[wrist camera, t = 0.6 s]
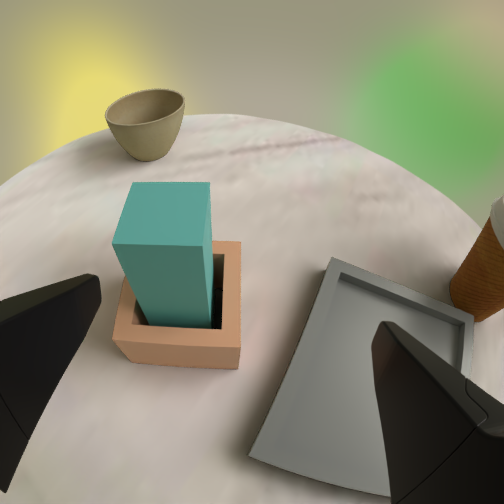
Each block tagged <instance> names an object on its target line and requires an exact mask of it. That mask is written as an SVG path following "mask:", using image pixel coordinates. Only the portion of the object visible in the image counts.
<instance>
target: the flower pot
mask: <svg viewBox="0 0 504 504" xmlns="http://www.w3.org/2000/svg"><path fill="white" fill-rule="evenodd" d="M184 105H185V98H184V96H183V95H182V94H180V93H179V92H177V91H174V90H169V89H148V90H142V91H138V92H135V93H131V94H129V95H126V96H124V97H122V98H120V99H118V100H117V101H115V102H114V103H112V104H111V105H110V106H109V107H108V109H107V110H106V112H105V118H106V121H107V123H108V126H109V128H110V130H111V132H112V133H113V135H114V137H115V138H116V140H117V141H118V142H119V144H120V145H121V146H122V147H123V148H124V149H125V150H126V151H127V152H128V153H129V154H130V155H131V156H133V157H134V158H135V159H137V160H140V161H153V160H157V159H159V158H161V157H163V156H165V155H166V154H167V153H168V151H169V150H170V148H171V146H172V145H173V143H174V141H175V139H176V137H177V135H178V132H179V129H180V126H181V123H182V119H183V114H184V107H185V106H184Z"/></svg>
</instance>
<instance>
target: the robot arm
mask: <svg viewBox="0 0 504 504" xmlns="http://www.w3.org/2000/svg"><path fill="white" fill-rule="evenodd" d="M101 299H102V298H101V289H100V281H99V278H98V276H96V275H92V274H83V275H80V276H77V277H74V278H70V279H67V280H64V281H61V282H57V283H54V284H51V285H48V286H45V287H41V288H38V289H35V290H32V291H29V292H26V293H22V294H19V295H16V296H13V297H10V298H7V299H4V300H2V301H0V490H1V491H2V492H4V493H6V492H7V490H8V488H9V485H10V483H11V480H12V478H13V476H14V473H15V471H16V468H17V466H18V464H19V462H20V459H21V457H22V455H23V453H24V451H25V448H26V446H27V444H28V442H29V439H30V437H31V435H32V433H33V431H34V429H35V427H36V425H37V423H38V421H39V419H40V417H41V415H42V413H43V411H44V409H45V407H46V405H47V404H48V402H49V400H50V398H51V396H52V394H53V392H54V390H55V389H56V387H57V385H58V383H59V381H60V379H61V378H62V376H63V374H64V372H65V371H66V369H67V367H68V365H69V364H70V362H71V360H72V358H73V357H74V355H75V353H76V352H77V350H78V348H79V347H80V345H81V343H82V341H83V340H84V338H85V336H86V334H87V332H88V329H89V327H90V325H91V323H92V321H93V319H94V317H95V315H96V313H97V311H98V309H99V307H100V304H101ZM371 353H372V364H373V376H374V387H375V393H376V399H377V404H378V410H379V416H380V421H381V427H382V434H383V440H384V447H385V454H386V461H387V469H388V477H389V486H390V495H391V504H504V404H502V403H501V402H499V401H498V400H496V399H495V398H493V397H492V396H491V395H489V394H488V393H486V392H485V391H484V390H482V389H481V388H480V387H478V386H477V385H476V384H474V383H473V382H472V381H471V380H469V379H468V378H466V377H465V376H464V375H463V374H462V373H460V372H459V371H458V370H456V369H455V368H454V367H453V366H451V365H450V364H449V363H447V362H446V361H445V360H443V359H442V358H441V357H440V356H438V355H437V354H436V353H434V352H433V351H432V350H430V349H429V348H428V347H426V346H425V345H424V344H422V343H421V342H420V341H419V340H417V339H416V338H415V337H413V336H412V335H411V334H409V333H408V332H407V331H405V330H404V329H403V328H401V327H400V326H399V325H397V324H396V323H395V322H392V321H381V322H380V323H379V325H378V328H377V330H376V333H375V335H374V338H373V340H372V344H371Z"/></svg>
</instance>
